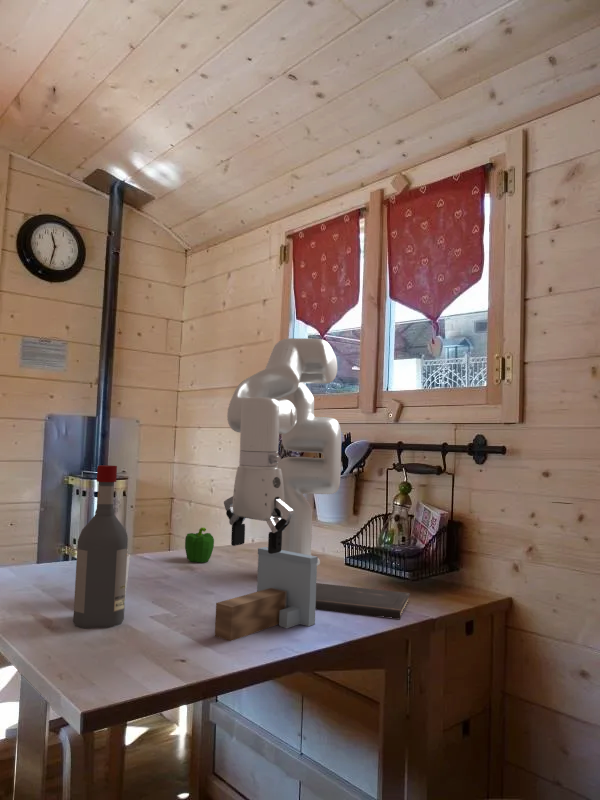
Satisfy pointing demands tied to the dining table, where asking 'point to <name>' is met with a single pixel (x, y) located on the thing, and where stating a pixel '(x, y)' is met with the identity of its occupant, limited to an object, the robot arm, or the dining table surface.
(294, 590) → the panel
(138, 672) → the dining table surface
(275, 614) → the brown wooden block
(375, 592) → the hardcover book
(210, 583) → the dining table surface
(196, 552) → the bell pepper
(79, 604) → the liquor
